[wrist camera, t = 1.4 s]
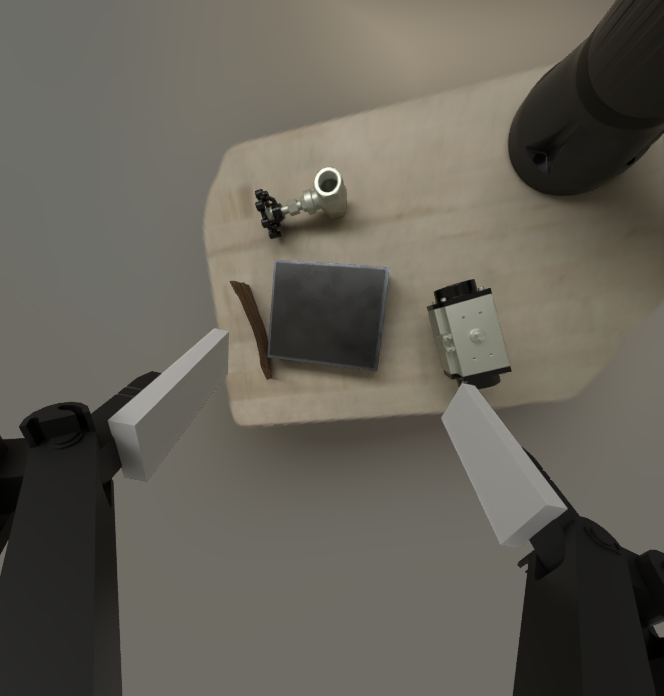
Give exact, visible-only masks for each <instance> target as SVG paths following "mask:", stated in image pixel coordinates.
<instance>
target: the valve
mask: <svg viewBox="0 0 664 696" xmlns="http://www.w3.org/2000/svg"><path fill="white" fill-rule="evenodd" d="M313 188H314V190H315V191H311V189H309V190H306V191H303V195H304V196H302V197H300V201H297V200H296V199H293V200H289V201H287V205H286V206H283V207H282V205H281V204H280V203H279V204H277V201H276V200H275V198H273V197H271V196H269V194H268V192H267V191H263V190H262V189H260V190H257V191H255V195H256V198H257V199H258V200H259V202H256V203H255V205H256V208H257V210H258V211H259V212H261V215H262V218H263V219H262V220H261V223H262V226H263V227H264V228H268V230H269V236H270V238H271V239H274V238H278V237H281V231H277V227H279V226H281V224H280V221H282V220H283V219H285V214H288V213H290V215H291V216H294V215H297V214H300V210H304V212H307V211H308V213H309V214H310V215H311V214H315V213H317V210H319V209H323V211H324V212H325V213H326V214H327V215H328V216H329V217H330V218H331V219H334V218H337V217H341V216H344V213H345V210H346V206H347V203H348V202H347V190H346V187H345V185H344V182H343V178H342V176H341V175H340V174H339V173H338V172H337V171H336V169H335V168H333V167H328V168H324V169H322V170H320V171H318V172H317V175H316V178H315V182H314V186H313ZM269 201H272V203H271V204H270V203H269ZM265 206H266V209H265Z"/></svg>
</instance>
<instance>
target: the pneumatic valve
mask: <svg viewBox="0 0 664 696" xmlns="http://www.w3.org/2000/svg"><path fill="white" fill-rule="evenodd" d="M488 294H489V295H488ZM434 296H435V300H436V301H435V302H432V304H433V305H430V306H428V307H427V310H428V313H429V317H430V321H431V325H432V328H433V332H434V336H435V340H436V343H437V347H438V351H439V355H440V359H441V362H442V366H443V370H444V374H445V375H446V376H448V377H449V378H451V379H457V383H458V386H459V387H460V386H461V384H462V383H464V384H469V385H473V386H475V387H476V388H477V389H483V388H488V387H491V386H494V385H497V384H498V383H500V381H501V380H500V376H499V374H505V373H507V372H511V367H510V363H509V359H508V355H507V351H506V347H505V343H504V339H503V335H502V331H501V327H500V323H499V319H498V316H497V312H496V308H495V304H494V300H493V296H492V292H491V288H488V289H485V290H484V287H480V288H478V290H477V286H476V282H475V279H471V280H467V281H464V282H460V283H457V284H454V285H451V286H447V287H445V288H442V289H439V290H436V291H434Z"/></svg>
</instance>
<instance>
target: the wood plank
mask: <svg viewBox="0 0 664 696" xmlns="http://www.w3.org/2000/svg"><path fill="white" fill-rule="evenodd" d="M230 283H231V285H232V287H233V289H234V291H235V293H236V294H237V295H238V297H239V299H240V301H241V303H242V305H243V308H244V310H245V313H246V315H247V317H248V320H249V322H250V324H251V326H252V329H253V332H254V335H255V338H256V341H257V342H256V343H257V347H258V351H259V356H260V365H261V368H262V370H263V373H264V375H265V377H266V379H267V380H268V379H270V378H271V377H272V375H271V369H270V367H269V363H270V357H267V356H268V343H267V337H266V333H265V329H264V326H263V323H262V320H261V318H260V315H259V313H258V310H257V306H256V303H255V300H254V297H253V295H252V292H251V290H250V287H249V285H247V284H245V283H239V282H236V281H230Z"/></svg>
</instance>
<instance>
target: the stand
mask: <svg viewBox="0 0 664 696" xmlns="http://www.w3.org/2000/svg"><path fill="white" fill-rule="evenodd" d="M389 270H390V267H382V266H367V265H351V264H336V263H321V262H305V261H290V260H275V262H274V275H273V289H272V302H271V316H270V329H269V343H268V356H267V357H270V358H277V359H285V360H293V361H301V362H309V363H316V364H324V365H332V366H340V367H347V368H355V369H363V370H371V371H377V369H378V361H379V352H380V344H381V336H382V328H383V320H384V311H385V303H386V295H387V287H388V279H389Z"/></svg>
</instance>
